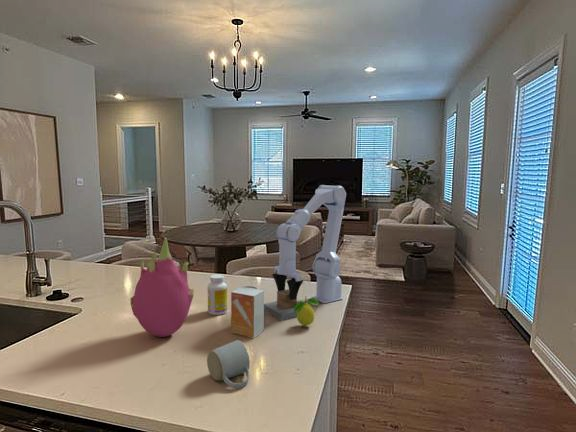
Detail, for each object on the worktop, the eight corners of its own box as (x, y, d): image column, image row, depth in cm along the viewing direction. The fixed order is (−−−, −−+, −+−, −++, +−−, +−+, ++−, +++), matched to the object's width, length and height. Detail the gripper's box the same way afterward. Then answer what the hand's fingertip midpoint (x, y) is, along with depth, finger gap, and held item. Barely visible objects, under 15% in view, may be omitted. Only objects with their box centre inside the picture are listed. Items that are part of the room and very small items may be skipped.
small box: (230, 333, 114) (230, 291, 112) (241, 325, 119) (241, 286, 118) (253, 338, 110) (254, 295, 109) (264, 330, 116) (264, 289, 115)
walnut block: (288, 302, 136) (289, 289, 135) (296, 306, 132) (296, 293, 131) (277, 305, 133) (277, 291, 133) (284, 309, 129) (284, 295, 129)
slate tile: (291, 303, 141) (291, 298, 141) (310, 313, 131) (310, 307, 131) (263, 309, 135) (263, 303, 134) (281, 320, 125) (281, 314, 124)
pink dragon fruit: (195, 324, 120) (194, 231, 117) (192, 343, 107) (190, 239, 104) (137, 327, 117) (134, 232, 114) (126, 347, 104) (122, 240, 101)
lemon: (318, 324, 122) (318, 294, 121) (313, 331, 116) (314, 300, 115) (298, 321, 124) (299, 292, 123) (292, 328, 119) (293, 297, 117)
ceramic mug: (204, 374, 91) (204, 344, 90) (234, 363, 96) (234, 335, 95) (227, 395, 83) (227, 362, 82) (258, 382, 88) (258, 351, 87)
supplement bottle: (231, 310, 133) (230, 275, 131) (220, 317, 127) (219, 279, 125) (215, 307, 136) (215, 272, 134) (203, 313, 130) (203, 277, 128)
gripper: (267, 255, 135) (266, 292, 136) (289, 264, 123) (289, 304, 124) (283, 253, 138) (283, 289, 140) (307, 261, 126) (306, 300, 128)
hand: (287, 296), depth 132 cm, fingers open, 7 cm apart
